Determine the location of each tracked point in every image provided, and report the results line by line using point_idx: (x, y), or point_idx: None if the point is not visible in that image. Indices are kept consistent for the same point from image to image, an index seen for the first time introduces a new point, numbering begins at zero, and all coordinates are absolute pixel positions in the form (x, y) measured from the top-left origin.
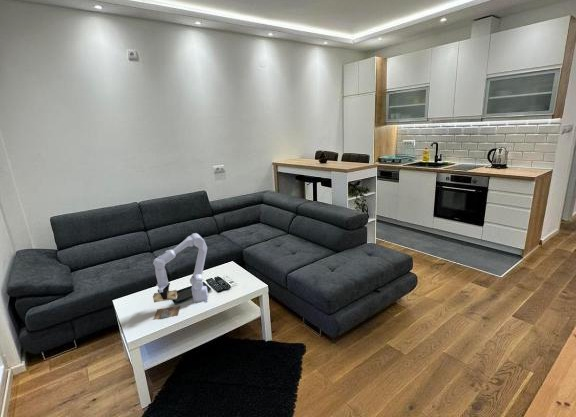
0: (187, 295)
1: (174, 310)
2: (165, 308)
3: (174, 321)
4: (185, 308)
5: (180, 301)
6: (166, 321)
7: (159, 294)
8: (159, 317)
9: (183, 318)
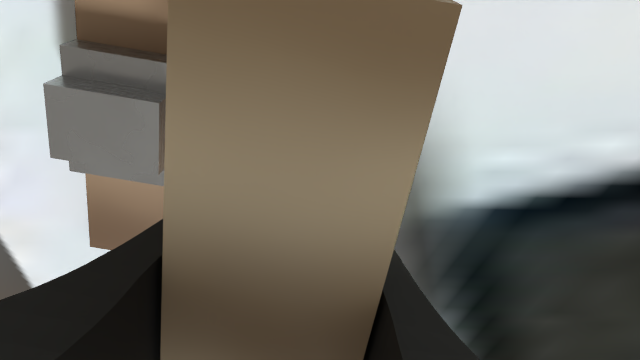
0: (570, 350)
1: None
2: None
3: (5, 200)
4: None
5: (466, 275)
6: (24, 109)
7: (246, 198)
8: (109, 14)
9: None
